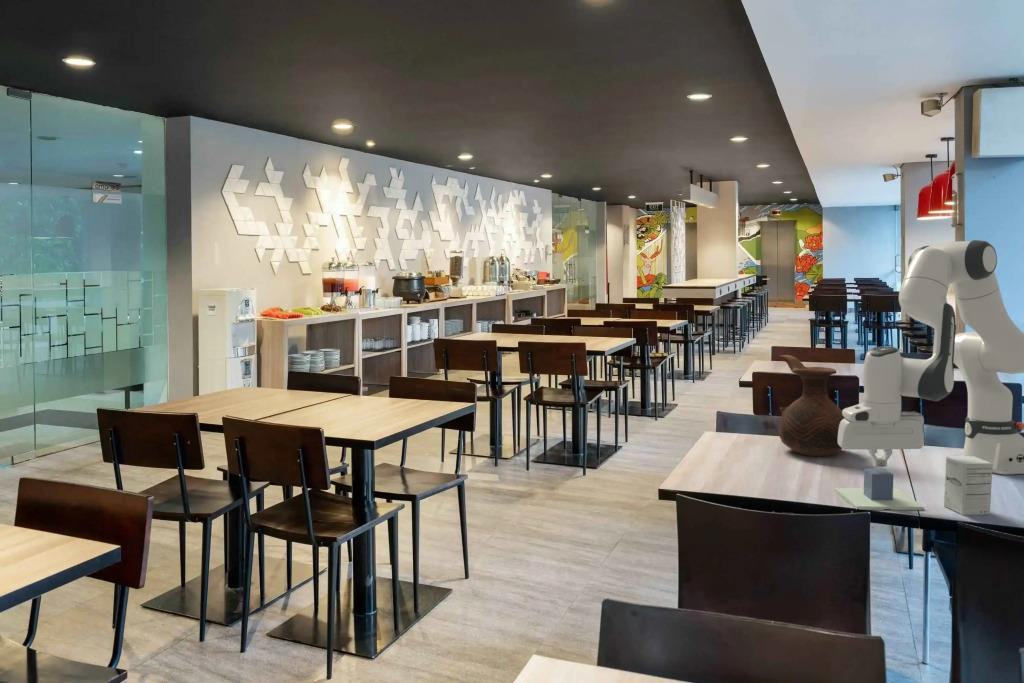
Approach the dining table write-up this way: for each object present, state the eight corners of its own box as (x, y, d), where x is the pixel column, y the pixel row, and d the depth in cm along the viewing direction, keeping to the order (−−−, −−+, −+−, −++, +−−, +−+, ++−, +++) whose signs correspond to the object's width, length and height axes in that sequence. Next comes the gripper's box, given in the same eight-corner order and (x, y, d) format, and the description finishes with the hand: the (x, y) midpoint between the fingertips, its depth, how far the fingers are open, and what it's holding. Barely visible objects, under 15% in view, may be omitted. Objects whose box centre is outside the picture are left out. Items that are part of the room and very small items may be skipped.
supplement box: (942, 506, 200) (944, 456, 199) (971, 505, 201) (973, 455, 199) (961, 515, 193) (964, 463, 192) (991, 514, 193) (993, 462, 192)
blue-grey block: (884, 494, 208) (885, 468, 207) (892, 500, 203) (893, 474, 202) (863, 494, 208) (864, 468, 208) (871, 500, 203) (872, 474, 203)
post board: (896, 491, 213) (897, 469, 213) (924, 510, 197) (925, 486, 197) (834, 490, 214) (835, 469, 214) (856, 509, 198) (857, 486, 198)
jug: (835, 443, 268) (838, 353, 265) (862, 459, 246) (865, 361, 243) (769, 444, 268) (770, 353, 265) (789, 460, 247) (792, 362, 244)
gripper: (918, 409, 206) (916, 462, 208) (835, 410, 207) (834, 463, 209) (929, 414, 200) (927, 469, 201) (844, 414, 201) (843, 469, 202)
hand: (879, 466), depth 205 cm, fingers closed
